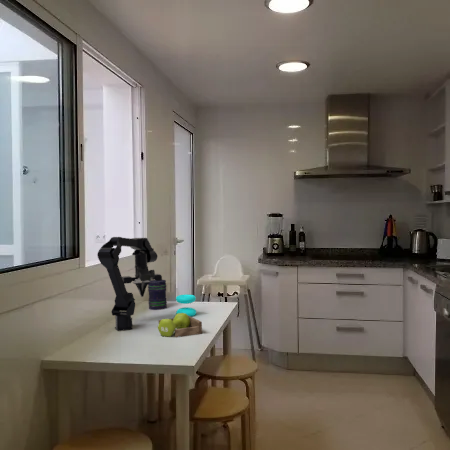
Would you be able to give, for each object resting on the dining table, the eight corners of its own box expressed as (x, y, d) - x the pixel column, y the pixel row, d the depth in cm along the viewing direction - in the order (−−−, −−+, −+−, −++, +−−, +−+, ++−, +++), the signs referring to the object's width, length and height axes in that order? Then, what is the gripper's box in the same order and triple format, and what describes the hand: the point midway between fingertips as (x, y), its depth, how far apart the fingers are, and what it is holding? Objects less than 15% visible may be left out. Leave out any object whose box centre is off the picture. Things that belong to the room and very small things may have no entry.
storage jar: (165, 309, 266) (164, 281, 266) (147, 310, 266) (146, 282, 266) (167, 306, 276) (167, 279, 276) (150, 306, 276) (149, 279, 276)
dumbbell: (172, 338, 205) (172, 320, 205) (156, 336, 208) (155, 319, 208) (191, 329, 220) (191, 313, 220) (176, 328, 223) (175, 312, 223)
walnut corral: (176, 337, 206) (175, 325, 206) (158, 326, 226) (158, 315, 226) (202, 333, 211) (201, 321, 211) (182, 323, 231) (182, 312, 231)
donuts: (174, 294, 253) (193, 293, 256) (174, 314, 253) (193, 312, 256) (177, 297, 243) (197, 296, 246) (178, 318, 243) (198, 316, 246)
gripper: (126, 266, 226) (127, 301, 226) (165, 264, 234) (166, 297, 234) (120, 264, 236) (121, 297, 236) (157, 262, 244) (158, 293, 244)
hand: (142, 296), depth 238 cm, fingers closed
